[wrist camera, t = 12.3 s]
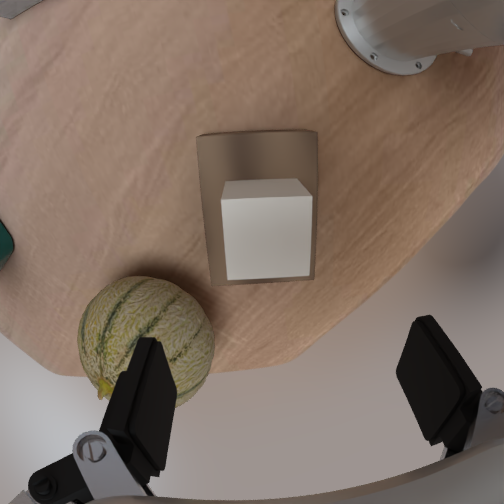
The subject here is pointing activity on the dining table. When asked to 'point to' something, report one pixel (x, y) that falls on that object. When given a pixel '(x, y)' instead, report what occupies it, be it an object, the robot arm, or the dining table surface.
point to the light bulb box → (15, 7)
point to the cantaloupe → (145, 333)
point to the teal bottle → (5, 245)
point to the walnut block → (252, 168)
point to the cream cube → (266, 228)
